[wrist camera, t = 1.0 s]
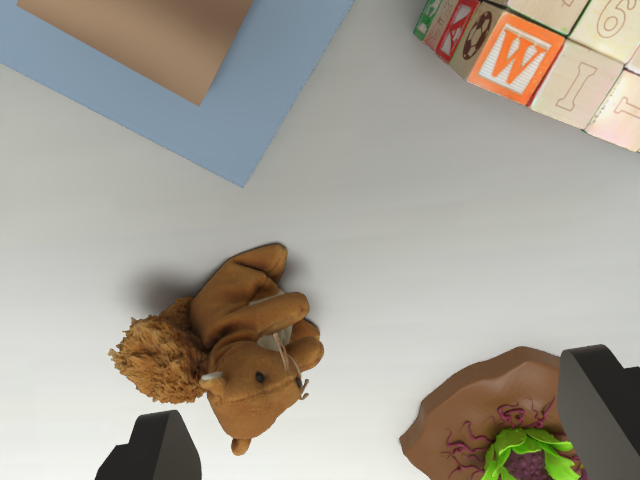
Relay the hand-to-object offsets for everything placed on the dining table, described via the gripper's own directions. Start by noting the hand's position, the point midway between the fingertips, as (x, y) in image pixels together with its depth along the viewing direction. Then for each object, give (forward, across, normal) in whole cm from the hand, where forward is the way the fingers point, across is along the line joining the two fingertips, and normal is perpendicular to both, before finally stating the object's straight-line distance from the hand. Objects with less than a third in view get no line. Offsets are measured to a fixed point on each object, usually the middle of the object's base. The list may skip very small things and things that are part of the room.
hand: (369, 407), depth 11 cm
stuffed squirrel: (+27, +10, +16) cm, 33 cm away
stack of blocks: (+27, -17, +1) cm, 32 cm away
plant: (+27, -13, +37) cm, 47 cm away
